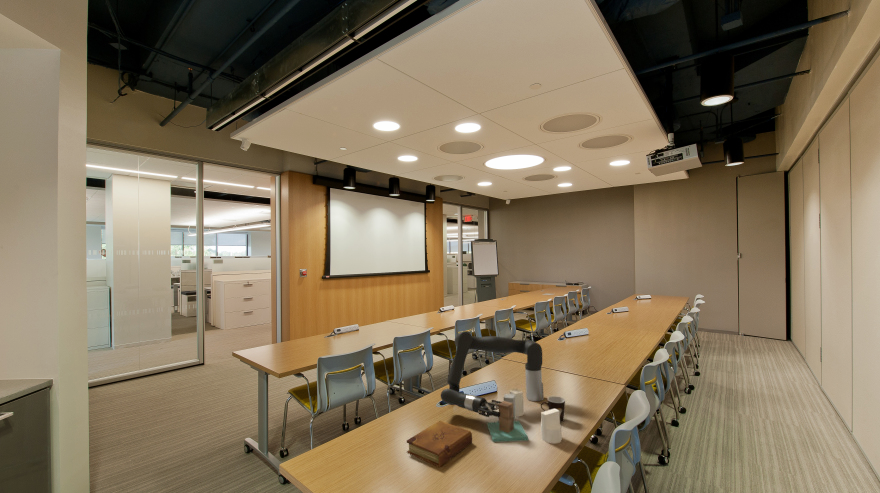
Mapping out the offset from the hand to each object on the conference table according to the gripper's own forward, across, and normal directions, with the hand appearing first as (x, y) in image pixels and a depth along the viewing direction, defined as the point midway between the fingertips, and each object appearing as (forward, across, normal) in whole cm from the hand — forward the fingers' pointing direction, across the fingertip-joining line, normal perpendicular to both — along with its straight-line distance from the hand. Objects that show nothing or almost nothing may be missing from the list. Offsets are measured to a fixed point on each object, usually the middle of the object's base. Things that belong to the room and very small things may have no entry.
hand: (504, 411), depth 167 cm
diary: (-17, -29, +10) cm, 35 cm away
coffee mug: (+14, +26, +10) cm, 32 cm away
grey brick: (-4, +13, +10) cm, 17 cm away
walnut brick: (+1, 0, +8) cm, 8 cm away
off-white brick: (-4, +21, +10) cm, 23 cm away
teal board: (+1, 0, +10) cm, 10 cm away
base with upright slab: (+20, +7, +10) cm, 23 cm away
